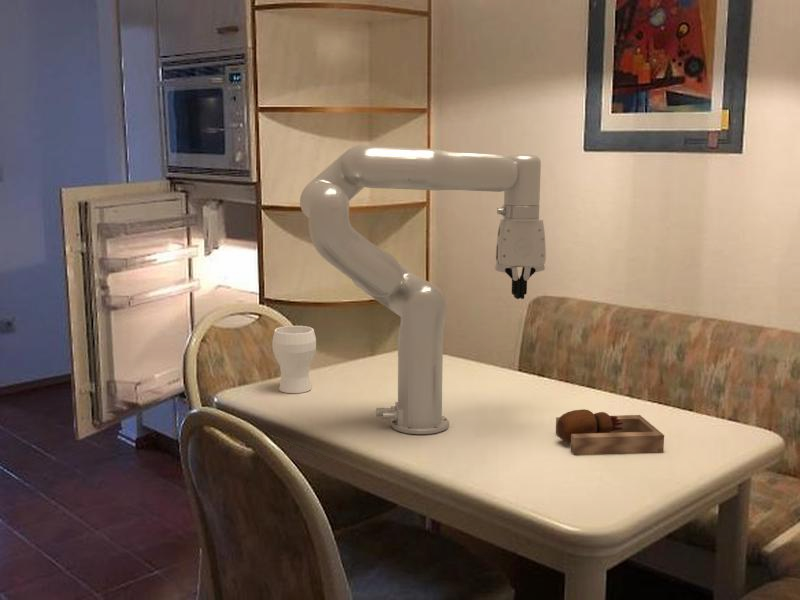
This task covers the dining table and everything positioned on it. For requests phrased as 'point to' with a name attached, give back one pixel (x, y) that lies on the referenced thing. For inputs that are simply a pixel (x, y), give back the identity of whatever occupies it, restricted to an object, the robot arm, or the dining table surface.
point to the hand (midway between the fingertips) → (518, 297)
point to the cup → (294, 356)
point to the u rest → (620, 438)
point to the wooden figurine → (585, 423)
